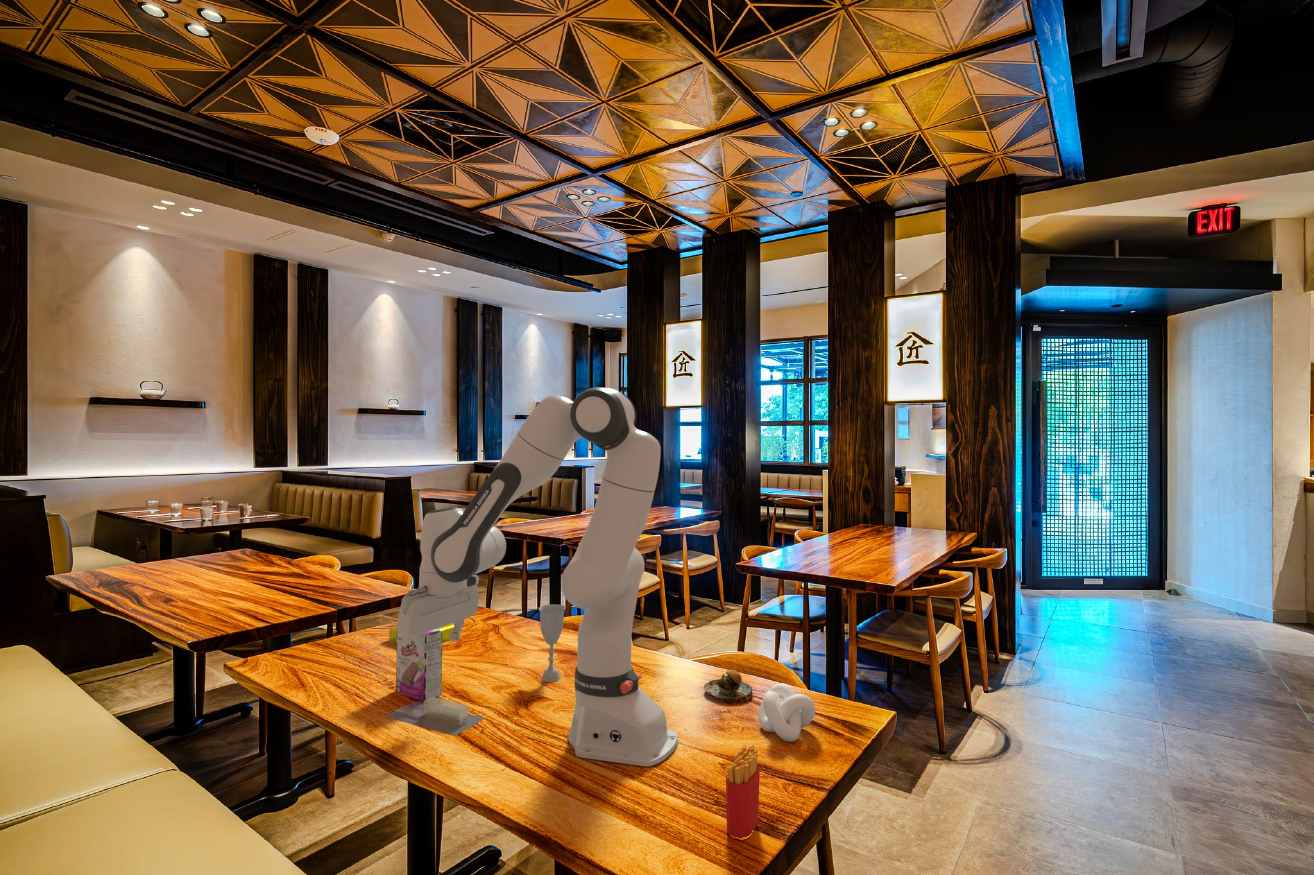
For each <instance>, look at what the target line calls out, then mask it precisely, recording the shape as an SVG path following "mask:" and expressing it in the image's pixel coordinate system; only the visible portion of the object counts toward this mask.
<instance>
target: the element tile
mask: <svg viewBox="0 0 1314 875" xmlns="http://www.w3.org/2000/svg"><path fill="white" fill-rule="evenodd" d="M397 627H398V624H397V625H393V626H390V627H389V629H388V630H389V631H388V632H389V633H388V634H389V635H388V642H390V643H392V644H395V645H397ZM453 627H454V623H451V624H449V625H446V626H443V627H440V628H437V629H440V630H442V644H444V643H445V641H446V642H448V641H450V640H449V637H450V636H449V633H450V632H452V630H453Z"/></svg>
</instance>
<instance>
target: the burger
mask: <svg viewBox="0 0 1314 875" xmlns="http://www.w3.org/2000/svg"><path fill="white" fill-rule="evenodd" d="M739 666H740V665H738V667H737V668H739ZM725 673H726V675H725ZM725 673H723V674H722V675H721V677H720V678H718V679H713V680H710V681H708V682H706V683H705V684H704V686H703V688H704V690H705V692H707V693H709V695H711V696H713V697H714V698H717V699H721V700H725V701H726V703H727V704H728V705H729V704H730V705H733V704H737V701H738V700H739V701H741V703H744V702H745V703H746V702H749V699H751V698H752V699H753V696H752V695H753V694H754V693H753V687H752V686H751V685H750V684H749V683H747V682H744V681H743V678H742V675H741V673H739V671H738V670H736V669H735V670H734V669H728V670H726V671H725Z"/></svg>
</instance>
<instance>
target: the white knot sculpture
mask: <svg viewBox="0 0 1314 875" xmlns="http://www.w3.org/2000/svg"><path fill="white" fill-rule="evenodd" d="M815 715H816V705H815V703H814V701H813V700H812V699H811V697H809V696H807V695H805V694H803V693H796V691H795V689H794V688H793V687H791V686H790V685H788V684H787V683H783V682H782V683H777V684H774V685H772V687H770V688H769V690H768V691H766V692H765V693H764V694H763V697H762V701H761V703H760V707H759V710H758V721H759V725H760V728H762V729H763V730H764V731H765V732H768V733H774V732H775V733H776V735H778V737H779V738H781V739H782V740H783V741H785V742H787V743H792V742H796V741H797V739H798V738H799V736H800V735H801V730H802V729H803V728H806V727H807V726H808V725H809V724H810V723H811V722H812V721H813V719H814V718H815Z"/></svg>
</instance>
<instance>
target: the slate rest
mask: <svg viewBox="0 0 1314 875" xmlns="http://www.w3.org/2000/svg"><path fill="white" fill-rule="evenodd" d="M413 702H414V703H418V704H422V705H424V701H420V700H414V701H413ZM384 717H386V718H389V719H393V720H396V721H400V722H404V723H408V724H411V725H415V726H419V727H422V728H426V729H430V730H433V731H437V732H441V733H445V734H447V735H452V736H455V737H457V735H459V734H461V733H464V732H465V731H466V730H468V729H470V728H471V727H473V726H475V725H476V724H478V723H480V722H482V721H483V720H484V719H486V717H483V716H479V715H475V714H471V713H468V719H467V723H465V724H463V725H462V726H460V727H458V726H454V725H450V724H447V723H443V722H439V721H435V720H431V719H428V718H424V717H423V718H421V719H419V720H418V719H414V718H410V717H406V716H403V715H399V714H395V710H394V711H392V712H390V713H387V714H386V715H384Z"/></svg>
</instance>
